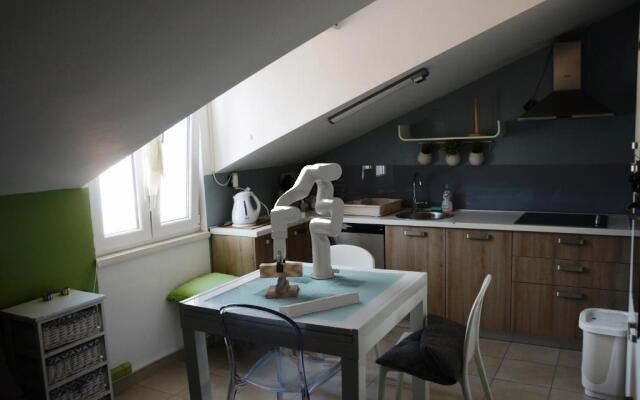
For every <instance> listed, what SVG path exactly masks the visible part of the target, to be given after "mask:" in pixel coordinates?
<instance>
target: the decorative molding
mask: <svg viewBox="0 0 640 400" xmlns="http://www.w3.org/2000/svg"><path fill="white" fill-rule="evenodd" d="M359 303H361V302H360V297H359V292H357V291H356V292H345V293H339V294H335V295H331V296H325V297H320V298H316V299H312V300H305V301H301V302H297V303H292V304H288V305H282V306H279V307H278V308H279V312H281V313H282V314H283V313H284V314H283V315H286V316H287V315H288V316H289V317H288V316H287V317H288V318H290V317H291V318H294V316H296V317H300V316H304V315H303V314H305V315H308V313H309V314H313V313H312V312H314V313H317V311H318V312H322V310H323V311H327V310H332V309H336V308H340V307H346V306H348V305H353V304H359ZM299 315H300V316H299Z"/></svg>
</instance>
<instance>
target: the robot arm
mask: <svg viewBox="0 0 640 400" xmlns="http://www.w3.org/2000/svg"><path fill="white" fill-rule="evenodd" d="M342 170H343V169H342V167H341V165H340V164H339V163H337V162H336V163H333V162H328V163H326V162H324V163H322V162H321V163H315V164H309V165H306V166H304V167H303V168H302V169H301V171H300V174H299V176H298V177H297V179H296V181H295V182H294V185H293V187H291V188H290V189H289V190H287V191H286V192H284V193H283V194H282V195H280V197H279V198H278V199H277V201H276V203H275V204H274V207H273V208H272V209H271V210H270V213H269V214H270V228H271V230H270V231H271V239H273V260H276V262H275V263H276V271H277V273H283V272H284V271H283V264H282V263H287V262H286V255H287V245H286V242H287V241H286V239H287V238H288V223H296V222H298V221H299V220H300V219H301V215H302V212H301V210H300V208H298V207H297V206H291V205H292V204H293V203H295V202H297V201H300V200H303V199H305V198H306V197H308V196H309V194H310V192H311V190H312V188H313V186H314V185H315V183H316V186H317V191H316V192H317V193H316V199H315V206H314V208H315V209H314V211H315V213H316V214H317V215H320V216H321V215H322V216H330V217H322V216H321V217H319V216H317V217H314V218H312V219H311V220H310V221H309V233H310V236H311V247H312V248H311V250H312V269H313V271H312V273H311V274H310V278H312V279H315V280H327V279H333V278H334V277H335V274H340V273H341V271H340V270H341V269H338V268H333V267H332V256H331V242H330V240H329V237H334V238H335V237H338V236H339V235H340V234H341V232H342V229H343V221H344V214H345V203H344V201H343V200H342V198H339V197H334V185H333V184H332V181H335V180H336V181H337V180H339V179H340V177H341V176H342V174H343V173H342V172H343V171H342Z"/></svg>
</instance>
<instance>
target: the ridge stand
mask: <svg viewBox="0 0 640 400" xmlns="http://www.w3.org/2000/svg"><path fill="white" fill-rule="evenodd" d="M299 287H300V286H299V284H290V280H289V279H287V277H285V278H277V282H276V284H275V285H273V284H271V285H269V287H268V289H267V290H266V293H265V294H264V295H265V299H280V298H281V299H284V298H286V299H287V298H290V299H291V298H297V294H298V291H299Z"/></svg>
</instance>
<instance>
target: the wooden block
mask: <svg viewBox="0 0 640 400" xmlns="http://www.w3.org/2000/svg"><path fill="white" fill-rule="evenodd" d="M282 264H283V271H284V272H283V273H277V271H276V262H272V263H271V262H270V263H260V265H259V278H260V279H275V278H276V279H278V278H285V277H286V278H303V275H304V272H303V271H304V270H303V262H301V261H300V262H286V263H282Z"/></svg>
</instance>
